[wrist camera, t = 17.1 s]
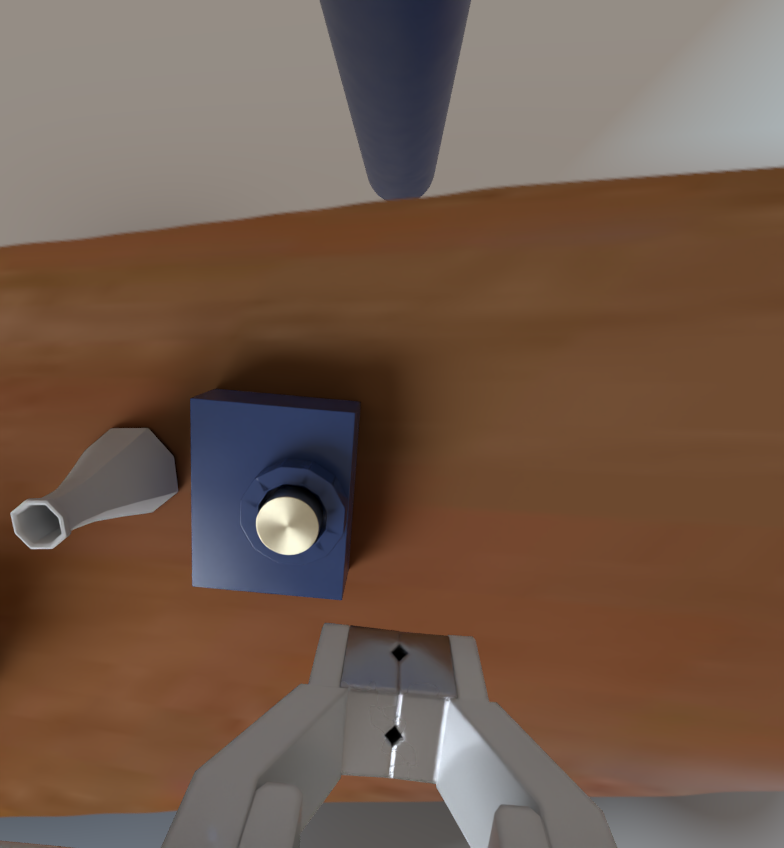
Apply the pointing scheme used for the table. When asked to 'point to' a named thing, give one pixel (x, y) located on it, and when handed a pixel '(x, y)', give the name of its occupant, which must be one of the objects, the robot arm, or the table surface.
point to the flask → (101, 488)
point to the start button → (289, 521)
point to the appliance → (270, 488)
